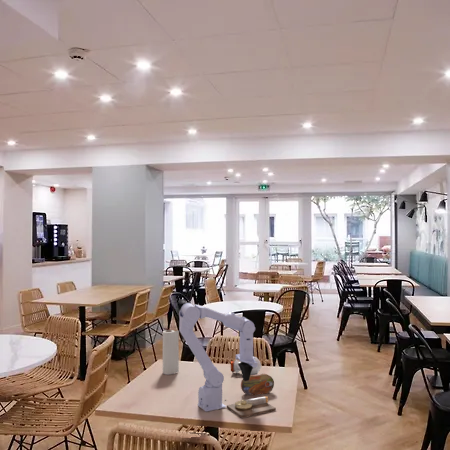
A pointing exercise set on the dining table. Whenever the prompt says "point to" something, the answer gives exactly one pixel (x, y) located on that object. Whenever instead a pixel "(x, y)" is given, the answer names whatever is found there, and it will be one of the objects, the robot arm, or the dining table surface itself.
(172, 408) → the dining table surface
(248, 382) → the tin
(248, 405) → the switch lever
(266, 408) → the lever switch plate
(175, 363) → the paper towel roll
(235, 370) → the potion bottle
